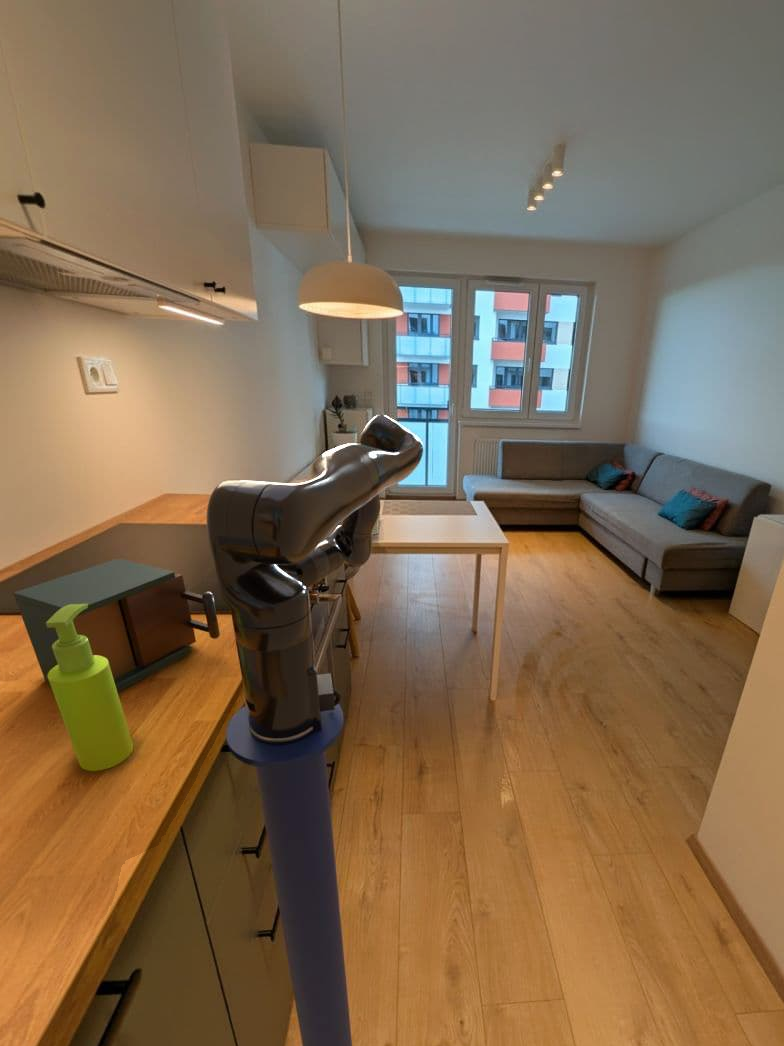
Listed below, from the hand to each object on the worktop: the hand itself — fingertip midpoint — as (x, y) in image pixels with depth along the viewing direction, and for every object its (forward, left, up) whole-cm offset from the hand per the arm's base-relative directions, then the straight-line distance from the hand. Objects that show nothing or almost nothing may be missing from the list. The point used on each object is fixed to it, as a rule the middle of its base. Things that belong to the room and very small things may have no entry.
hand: (241, 600), depth 90 cm
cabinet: (+19, +5, -8) cm, 21 cm away
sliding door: (+10, +6, -7) cm, 13 cm away
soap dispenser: (+15, +27, -8) cm, 32 cm away
